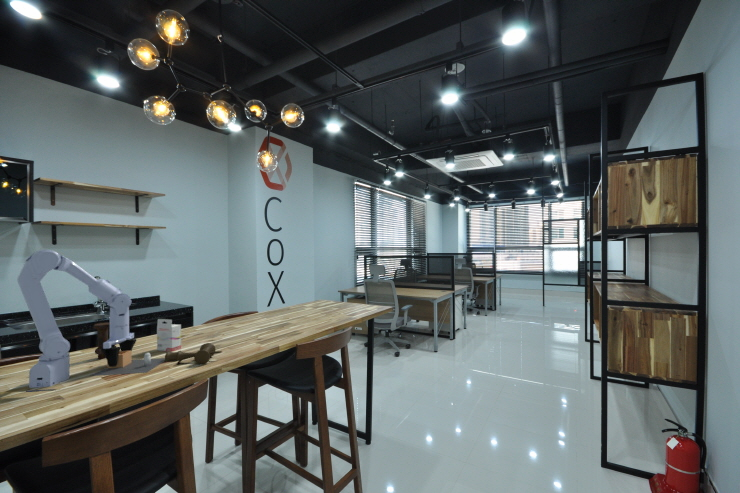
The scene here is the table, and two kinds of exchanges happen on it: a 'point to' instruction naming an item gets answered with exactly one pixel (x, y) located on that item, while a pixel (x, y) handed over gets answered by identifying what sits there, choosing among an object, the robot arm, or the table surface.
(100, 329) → the bolt
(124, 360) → the tan cube block
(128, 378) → the table surface
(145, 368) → the board
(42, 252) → the robot arm
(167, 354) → the kendama
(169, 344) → the ink cartridge box
